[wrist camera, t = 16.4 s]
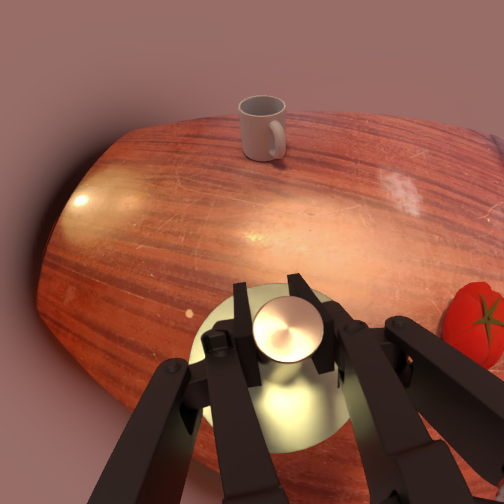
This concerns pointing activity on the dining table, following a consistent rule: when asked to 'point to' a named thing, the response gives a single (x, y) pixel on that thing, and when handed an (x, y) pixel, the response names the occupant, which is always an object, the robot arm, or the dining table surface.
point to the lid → (285, 369)
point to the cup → (263, 127)
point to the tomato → (476, 323)
